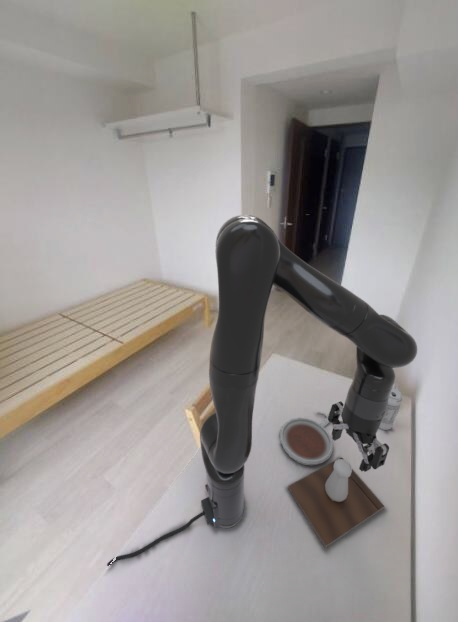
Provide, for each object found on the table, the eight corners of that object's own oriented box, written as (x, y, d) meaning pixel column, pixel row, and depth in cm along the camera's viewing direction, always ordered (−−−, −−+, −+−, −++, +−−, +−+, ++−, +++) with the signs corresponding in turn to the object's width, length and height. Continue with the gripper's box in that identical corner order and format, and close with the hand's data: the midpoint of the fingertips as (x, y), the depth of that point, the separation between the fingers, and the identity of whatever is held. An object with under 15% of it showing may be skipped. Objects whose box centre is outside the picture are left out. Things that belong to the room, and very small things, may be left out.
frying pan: (360, 422, 94) (313, 473, 78) (358, 428, 95) (311, 479, 79) (318, 394, 105) (269, 434, 89) (316, 400, 106) (268, 440, 91)
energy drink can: (388, 418, 98) (400, 388, 90) (393, 433, 92) (406, 401, 85) (370, 415, 99) (381, 385, 92) (374, 429, 94) (385, 398, 87)
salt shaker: (341, 482, 77) (350, 454, 71) (349, 505, 72) (360, 476, 66) (320, 483, 77) (328, 455, 70) (328, 506, 72) (336, 477, 65)
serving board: (325, 548, 65) (326, 545, 64) (288, 488, 77) (288, 485, 76) (383, 509, 72) (384, 505, 71) (341, 460, 84) (342, 456, 83)
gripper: (327, 387, 61) (316, 435, 69) (381, 438, 50) (361, 488, 58) (351, 378, 64) (338, 424, 72) (408, 424, 53) (386, 473, 60)
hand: (349, 453), depth 65 cm, fingers open, 8 cm apart
